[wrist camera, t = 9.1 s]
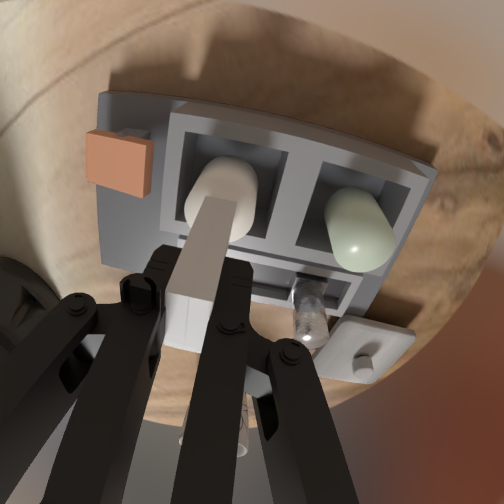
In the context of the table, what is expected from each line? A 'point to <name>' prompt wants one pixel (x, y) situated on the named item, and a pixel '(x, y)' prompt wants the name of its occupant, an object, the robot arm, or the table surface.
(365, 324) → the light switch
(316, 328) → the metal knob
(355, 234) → the sage button
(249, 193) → the white button
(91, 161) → the block
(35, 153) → the table surface
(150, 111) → the panel
